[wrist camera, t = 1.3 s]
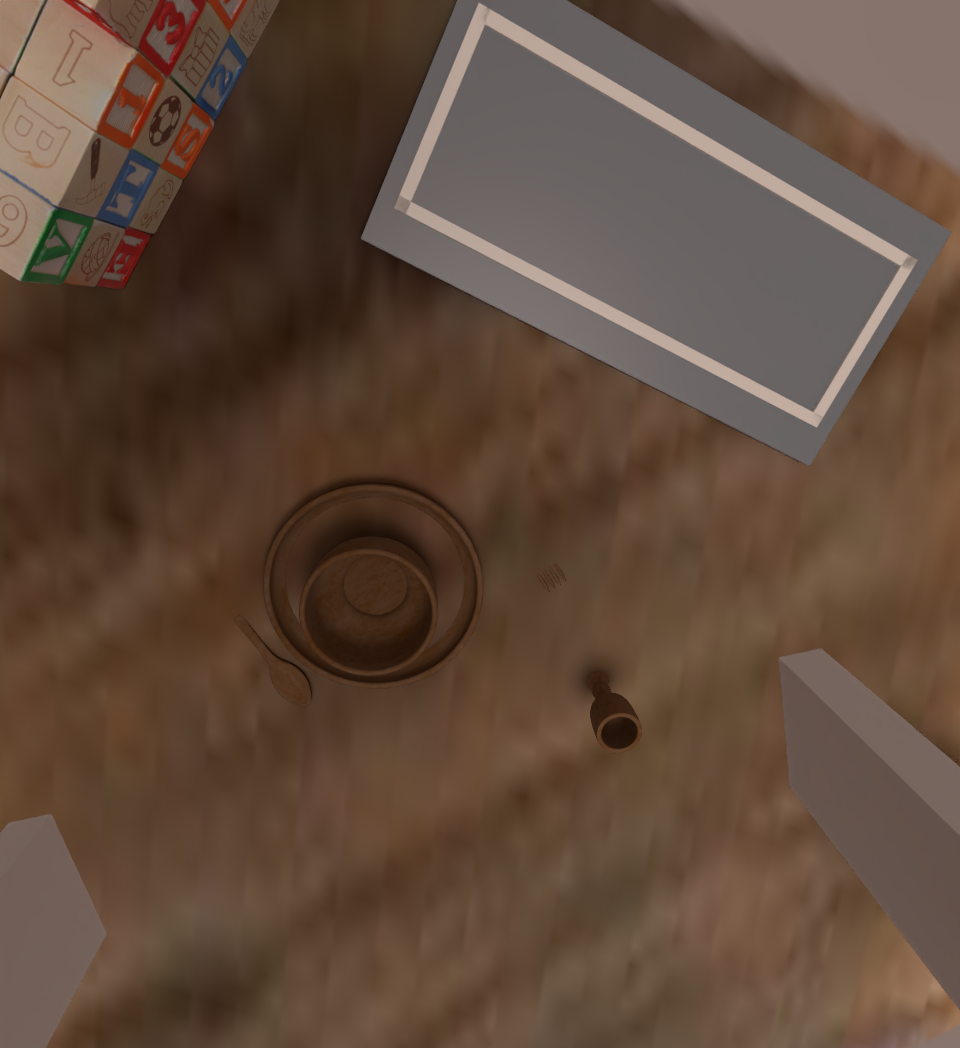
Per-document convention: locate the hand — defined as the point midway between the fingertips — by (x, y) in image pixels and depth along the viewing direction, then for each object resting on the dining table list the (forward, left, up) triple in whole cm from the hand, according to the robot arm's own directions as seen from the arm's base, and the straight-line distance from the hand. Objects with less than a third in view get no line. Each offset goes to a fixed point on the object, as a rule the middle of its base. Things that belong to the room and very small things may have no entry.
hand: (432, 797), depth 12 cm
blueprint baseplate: (+5, +16, -26) cm, 31 cm away
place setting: (+3, -9, -27) cm, 28 cm away
